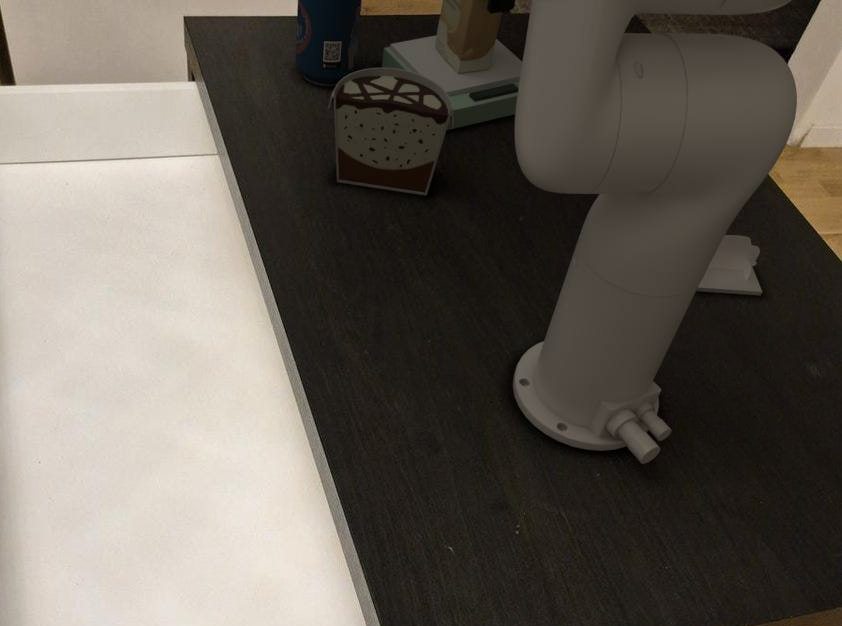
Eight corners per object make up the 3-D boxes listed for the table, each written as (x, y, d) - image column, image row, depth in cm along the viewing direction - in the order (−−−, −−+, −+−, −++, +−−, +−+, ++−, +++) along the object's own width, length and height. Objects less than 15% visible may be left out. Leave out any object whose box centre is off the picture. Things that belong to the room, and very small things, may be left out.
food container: (444, 163, 102) (460, 75, 94) (441, 197, 98) (457, 109, 90) (330, 145, 101) (336, 56, 93) (322, 179, 98) (328, 89, 90)
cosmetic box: (433, 47, 110) (450, -65, 101) (465, 42, 112) (485, -68, 102) (458, 76, 107) (479, -37, 97) (491, 71, 109) (515, -40, 99)
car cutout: (743, 251, 98) (761, 215, 94) (760, 295, 94) (780, 259, 90) (601, 241, 96) (615, 204, 93) (613, 285, 92) (627, 248, 89)
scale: (544, 107, 111) (550, 83, 108) (443, 131, 105) (448, 106, 103) (479, 47, 118) (483, 23, 115) (381, 67, 112) (384, 42, 110)
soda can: (291, 56, 111) (295, -51, 102) (349, 57, 113) (358, -49, 103) (299, 89, 107) (303, -19, 98) (359, 89, 109) (369, -18, 99)
